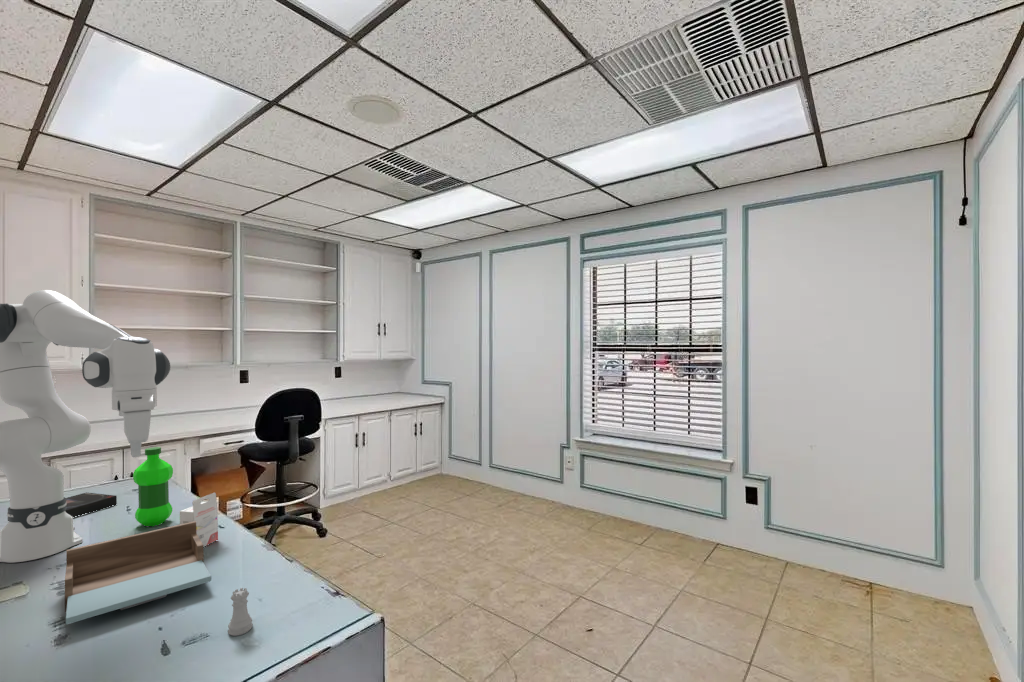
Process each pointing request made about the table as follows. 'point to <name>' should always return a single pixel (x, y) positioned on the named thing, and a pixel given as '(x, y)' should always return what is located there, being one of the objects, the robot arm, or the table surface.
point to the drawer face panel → (135, 591)
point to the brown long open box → (130, 557)
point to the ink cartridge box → (203, 518)
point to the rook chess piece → (240, 614)
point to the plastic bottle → (153, 489)
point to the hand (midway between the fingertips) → (135, 456)
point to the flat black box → (88, 503)
